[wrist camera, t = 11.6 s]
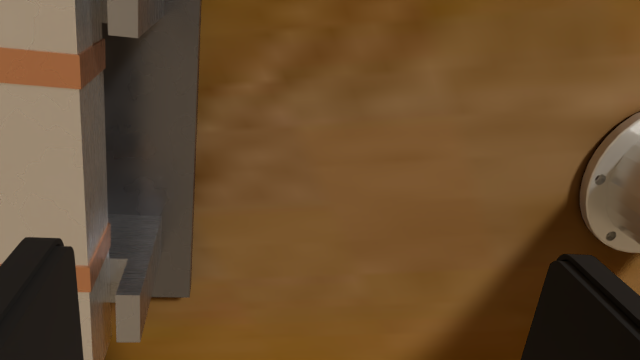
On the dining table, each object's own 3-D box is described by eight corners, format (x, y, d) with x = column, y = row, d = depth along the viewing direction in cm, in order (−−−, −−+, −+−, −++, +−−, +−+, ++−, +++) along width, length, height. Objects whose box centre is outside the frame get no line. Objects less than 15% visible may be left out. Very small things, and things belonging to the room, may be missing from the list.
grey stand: (205, -103, 30) (191, -130, 20) (190, 285, 39) (177, 391, 30) (-51, -142, 27) (-205, -194, 18) (1, 282, 37) (-80, 396, 27)
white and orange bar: (114, 334, 32) (95, 392, 28) (32, 334, 31) (0, 393, 27) (100, -109, 23) (70, -123, 19) (-16, -126, 22) (-74, -145, 18)
